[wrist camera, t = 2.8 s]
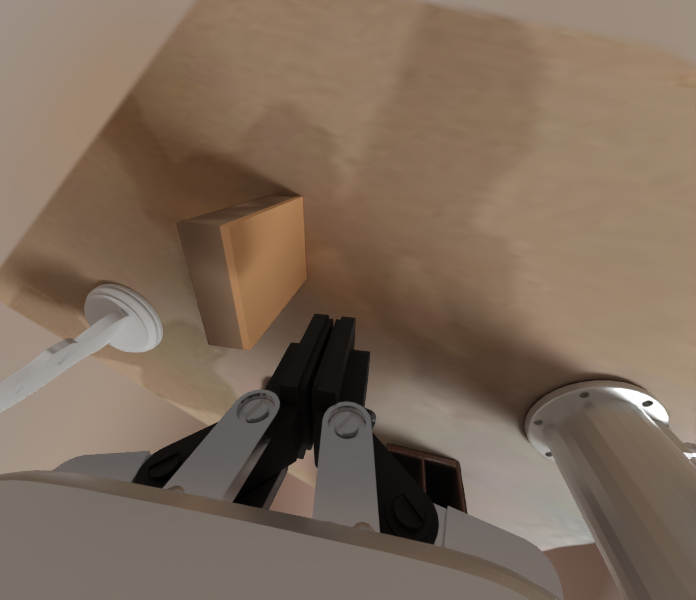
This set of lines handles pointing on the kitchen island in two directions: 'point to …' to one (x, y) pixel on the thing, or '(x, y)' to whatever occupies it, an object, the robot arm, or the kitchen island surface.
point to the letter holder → (433, 476)
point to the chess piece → (90, 339)
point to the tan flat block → (245, 266)
